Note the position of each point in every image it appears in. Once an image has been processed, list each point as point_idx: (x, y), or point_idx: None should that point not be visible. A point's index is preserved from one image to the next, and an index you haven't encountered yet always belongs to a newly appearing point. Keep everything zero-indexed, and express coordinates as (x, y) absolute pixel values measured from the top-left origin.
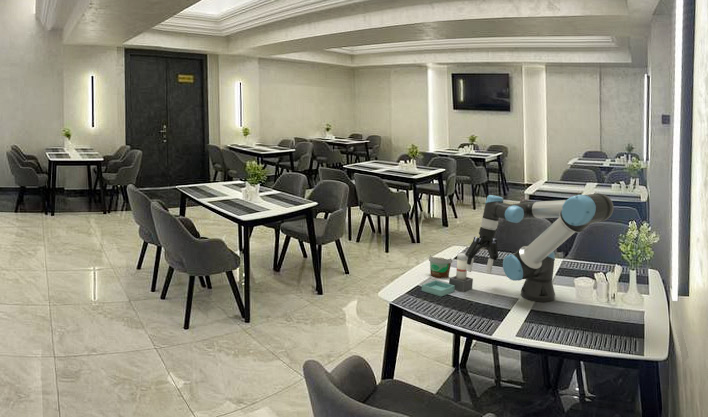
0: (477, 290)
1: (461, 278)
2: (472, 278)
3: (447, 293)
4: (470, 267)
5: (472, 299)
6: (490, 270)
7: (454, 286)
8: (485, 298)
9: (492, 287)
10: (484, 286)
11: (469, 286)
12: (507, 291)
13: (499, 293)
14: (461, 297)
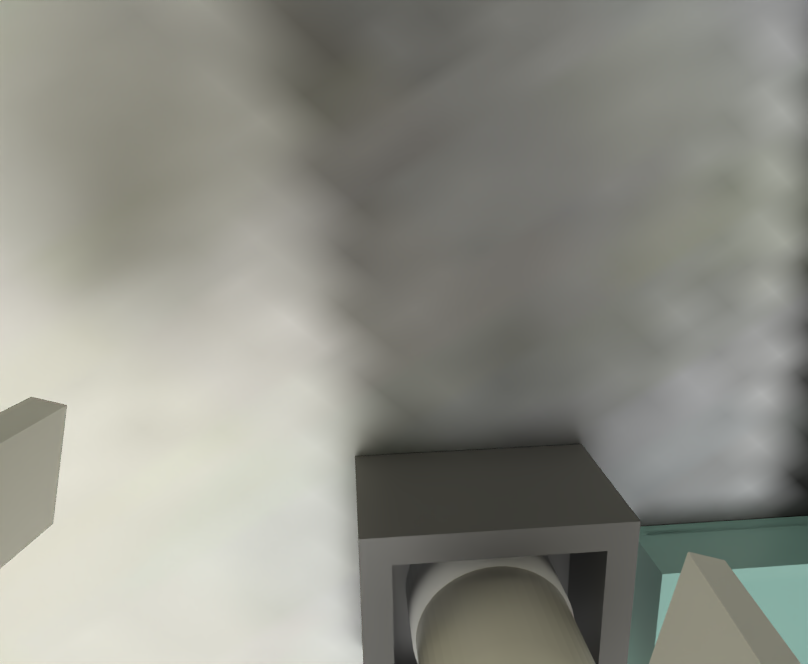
0: (364, 368)
1: (573, 620)
2: (360, 545)
3: (781, 522)
4: (769, 641)
5: (756, 199)
6: (28, 422)
7: (663, 566)
8: (592, 93)
9: (54, 304)
10: (122, 405)
11: (437, 474)
12: (6, 25)
13: (214, 67)
14: (777, 341)
